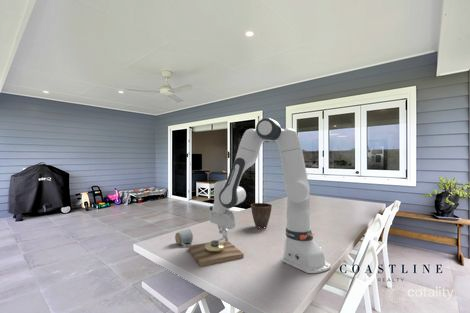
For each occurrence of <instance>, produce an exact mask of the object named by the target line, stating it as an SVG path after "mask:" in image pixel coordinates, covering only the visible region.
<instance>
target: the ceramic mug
mask: <svg viewBox="0 0 470 313" xmlns="http://www.w3.org/2000/svg"><path fill="white" fill-rule="evenodd" d="M174 236H175V237H174V238H175V243H176V244H177V245H179V246H181V245H182V246H183V247H184V248H189V247H188V246H190V245H193V239H194V236H193V232H192V230H191V229H190V228H187V229H183V230H180V231H177V232H176V233H175V235H174Z"/></svg>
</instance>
